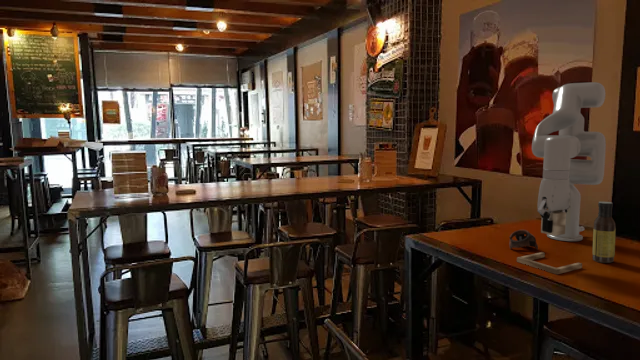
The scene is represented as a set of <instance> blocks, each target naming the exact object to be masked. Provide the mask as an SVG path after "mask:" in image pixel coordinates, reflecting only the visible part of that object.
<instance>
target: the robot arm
mask: <svg viewBox="0 0 640 360" xmlns="http://www.w3.org/2000/svg"><path fill="white" fill-rule="evenodd" d="M551 96H552V102H553V110H552V113H551V114H549V115H548V116H546V117H545V118H543V119H542V120H541V121H540V122H539V123H538V125H537V126H536V127H535V130H534V132H533V133H534V134H533V137H532V141H531V142H532V143H531V152H532V155H534V156H535V157H536V158H543V167H542V179H541V180H540V181H541V182H540V184H539V189H538V197H537V211H536V212H537V213H539V216H540V217H541V220H542V219H543V223H542V231H544V232H549V233H552V226H553V221H552V220H551V219H552V215H553V211H560V212H566V226H565V234H562V235H556V236H554V235H550V234H546V236H547V238H550V239H552V240H556V241H561V242H562V241H563V242H580V241H582V240H583V239H584V238H583V237H584V236H583V235H582V234H580V233H581V232H583V231H585V227H584V226H581V225H580V216H581V215H580V214H581V213H580V211H581V199H582V196H581V192H580V191H579V190H578V188H577V187H576V186H575V185H587V186H588V185H589V186H591V185H592V186H595V185H596V186H597V185H600V184H601V183H602V182H603V180H604V176H605V166H606V165H605V164H606V150H607V149H606V148H607V146H606V144H607V143H606V136H605V135H604V134H603V133H602V132H600V131H585V117H584V116H583V114H582V113H581V109H583V108H585V109H586V108H588V109H589V108H591V109H592V108H593V109H594V108H600V107H602V106H603V104H605V103H604V102H605V99H606V89H605V86H604V85H603V84H602V83H600V82H596V81H593V82H573V83H565V84H563V85H562V86H558V87H557V88H555V89H554V90H553V91H552V95H551ZM554 132H558V135H557V134H555V135H554V134H553V135H552V133H554ZM550 134H551V135H550ZM576 157H589V158H590V159H575V158H576ZM573 158H574V159H573ZM546 212H549V215H548V214H547V213H546Z"/></svg>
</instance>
